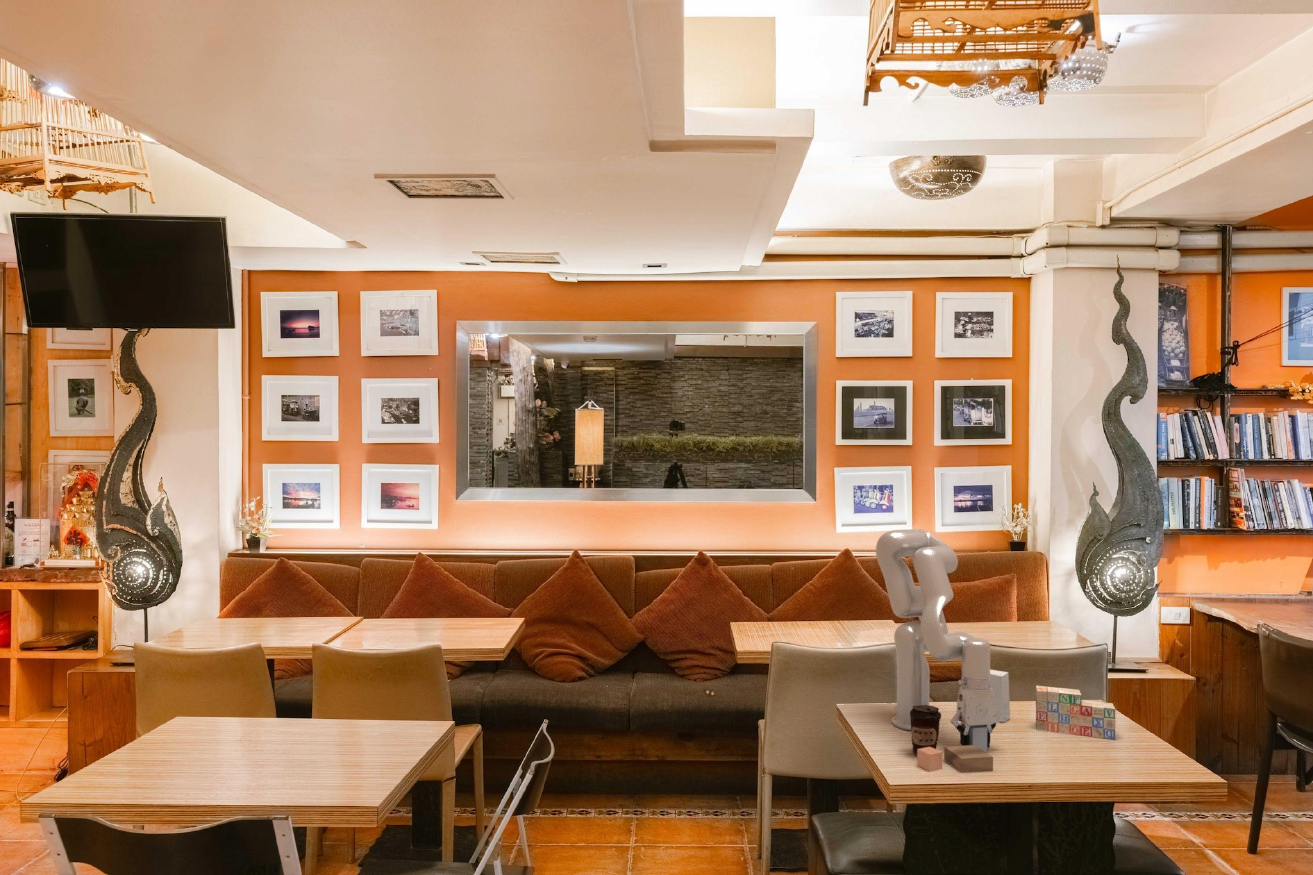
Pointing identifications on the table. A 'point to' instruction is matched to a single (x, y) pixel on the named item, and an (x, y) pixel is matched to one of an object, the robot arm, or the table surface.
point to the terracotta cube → (929, 758)
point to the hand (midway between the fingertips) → (975, 746)
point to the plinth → (968, 758)
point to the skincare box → (1001, 693)
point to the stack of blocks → (1073, 713)
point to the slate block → (978, 736)
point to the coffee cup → (924, 726)
